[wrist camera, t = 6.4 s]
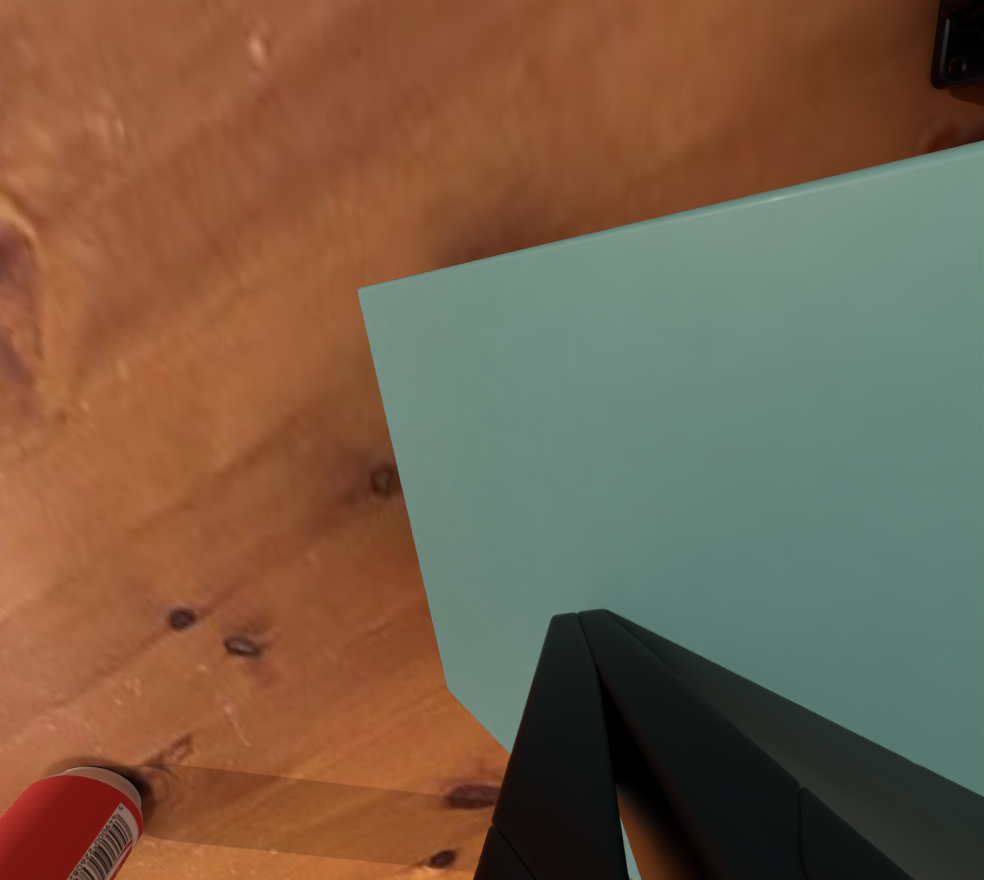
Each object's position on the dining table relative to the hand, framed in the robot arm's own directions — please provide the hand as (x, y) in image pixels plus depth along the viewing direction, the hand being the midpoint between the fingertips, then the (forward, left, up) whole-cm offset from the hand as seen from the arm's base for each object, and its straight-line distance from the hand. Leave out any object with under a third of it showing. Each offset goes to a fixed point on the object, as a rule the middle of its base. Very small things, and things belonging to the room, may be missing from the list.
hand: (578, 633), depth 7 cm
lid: (-2, 0, 0) cm, 2 cm away
